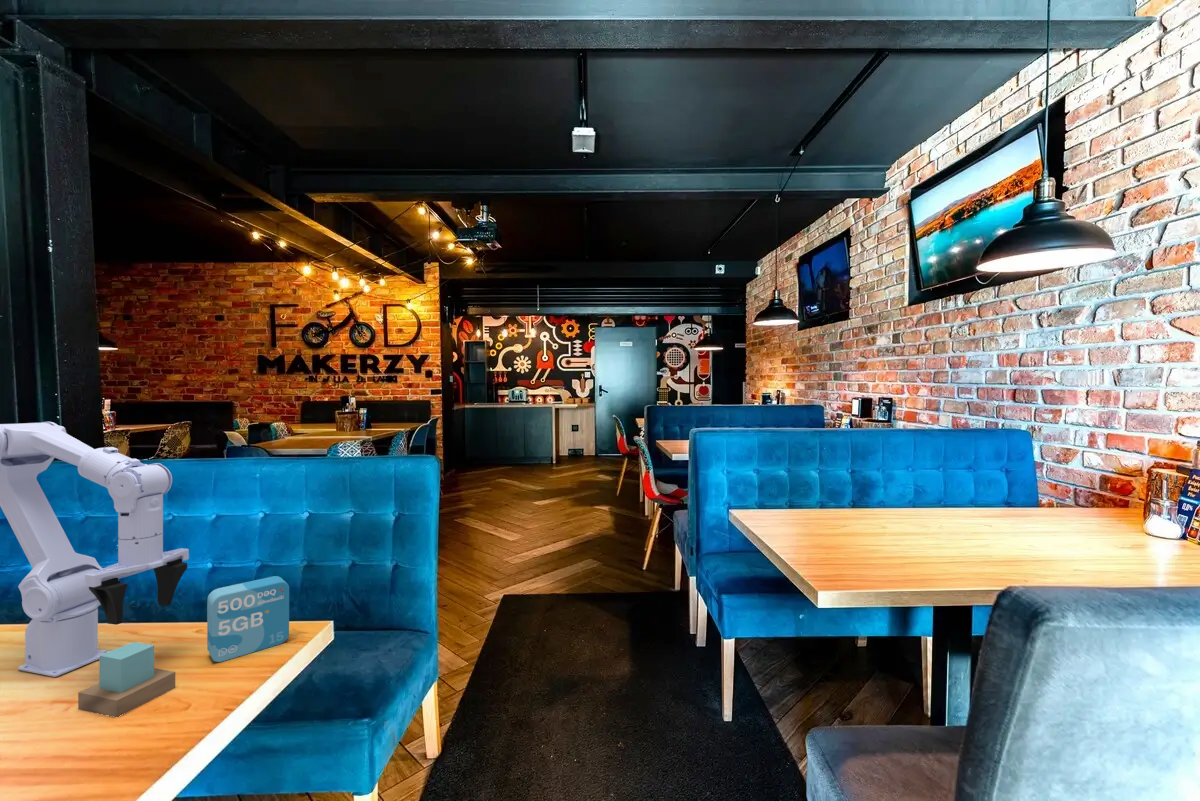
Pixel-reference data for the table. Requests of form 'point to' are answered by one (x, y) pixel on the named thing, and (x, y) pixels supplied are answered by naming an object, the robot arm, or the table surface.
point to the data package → (247, 618)
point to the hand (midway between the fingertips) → (140, 613)
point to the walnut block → (125, 695)
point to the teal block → (126, 667)
